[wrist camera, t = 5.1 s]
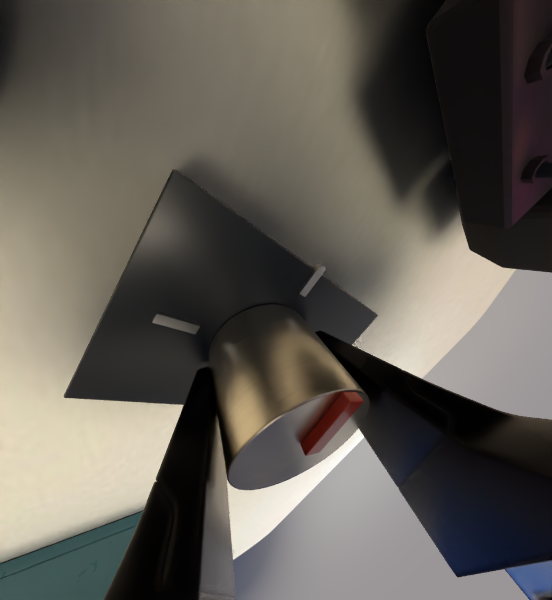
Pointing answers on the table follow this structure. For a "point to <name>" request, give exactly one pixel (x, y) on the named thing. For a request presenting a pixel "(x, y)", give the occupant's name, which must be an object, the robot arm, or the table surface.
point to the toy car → (498, 123)
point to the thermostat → (198, 298)
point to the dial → (279, 397)
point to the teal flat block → (70, 566)
